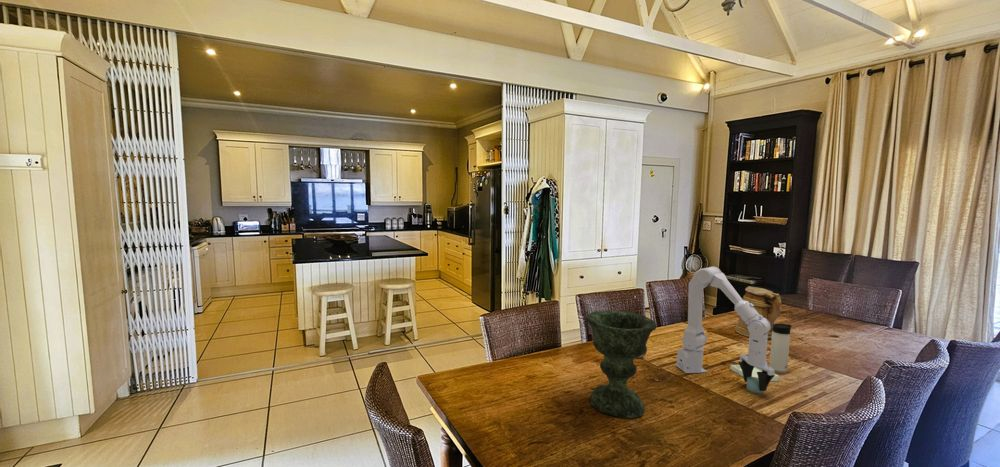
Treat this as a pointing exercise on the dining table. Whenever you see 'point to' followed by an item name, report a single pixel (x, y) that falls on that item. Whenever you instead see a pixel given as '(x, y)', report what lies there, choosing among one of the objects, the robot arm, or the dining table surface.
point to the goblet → (619, 359)
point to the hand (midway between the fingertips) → (754, 385)
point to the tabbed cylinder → (753, 384)
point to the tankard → (761, 308)
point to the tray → (738, 370)
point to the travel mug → (780, 347)
